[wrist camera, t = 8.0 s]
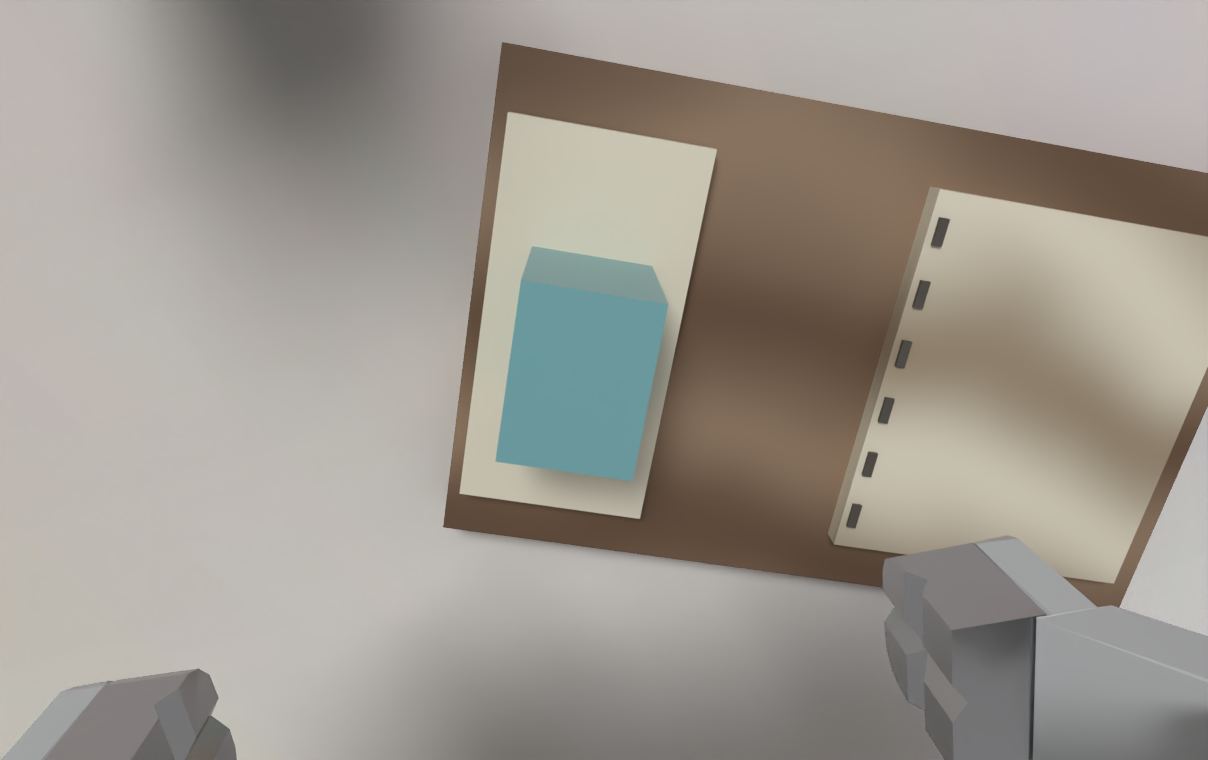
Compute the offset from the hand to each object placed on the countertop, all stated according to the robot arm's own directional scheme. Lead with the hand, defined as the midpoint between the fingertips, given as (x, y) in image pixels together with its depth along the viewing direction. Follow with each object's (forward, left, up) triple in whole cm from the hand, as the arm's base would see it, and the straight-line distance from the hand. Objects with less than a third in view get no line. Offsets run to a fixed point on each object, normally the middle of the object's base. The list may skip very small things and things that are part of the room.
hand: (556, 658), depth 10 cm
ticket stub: (+1, 0, -12) cm, 12 cm away
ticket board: (+1, -8, -14) cm, 16 cm away
